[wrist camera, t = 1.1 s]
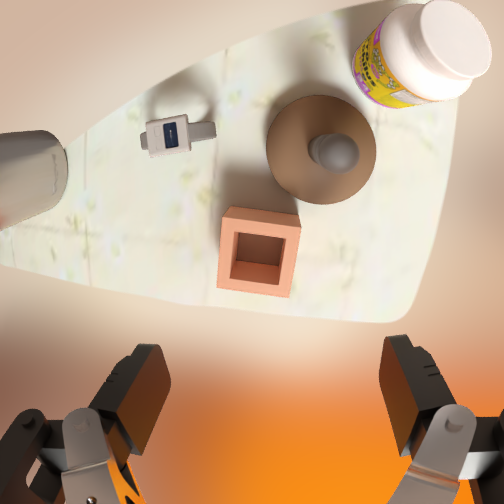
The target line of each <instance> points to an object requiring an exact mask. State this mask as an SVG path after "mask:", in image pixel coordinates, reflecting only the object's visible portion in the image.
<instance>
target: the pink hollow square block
mask: <svg viewBox="0 0 504 504" xmlns="http://www.w3.org/2000/svg"><path fill="white" fill-rule="evenodd" d="M239 232H242V233H250V234H257V235H264V236H271V237H279V238H284V239H283V245H282V252H281V258H280V264H279V266H274V265H266V264H259V263H252V262H245V261H238V260H236V257H237V247H238V238H239ZM300 233H301V224H300V219H299V215H293V214H286V213H279V212H272V211H264V210H257V209H250V208H242V207H234V206H230V207H229V209H228V210H227V211H226V213H225V214H224V216H223V217H222V226H221V238H220V250H219V262H218V274H217V288H222V289H229V290H236V291H242V292H249V293H256V294H263V295H270V296H278V297H285V298H289V294H290V289H291V284H292V278H293V273H294V268H295V262H296V256H297V251H298V245H299V239H300Z"/></svg>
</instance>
